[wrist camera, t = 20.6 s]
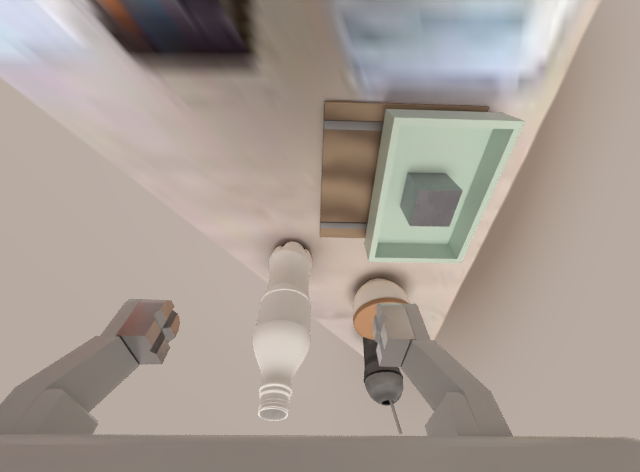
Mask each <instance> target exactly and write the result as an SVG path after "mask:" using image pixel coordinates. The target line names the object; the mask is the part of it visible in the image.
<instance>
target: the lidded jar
mask: <svg viewBox="0 0 640 472" xmlns="http://www.w3.org/2000/svg"><path fill="white" fill-rule="evenodd" d="M378 303H402V304H411V302H410V300H409V298H408V296H407V295H406V293H405V292H404V290H403V289H402V288H401V287H400V286H398V285H397V284H395V283H394V282H391V281H388V280H386V279H383V278H375V279H371V280H369V281H367V282H366V283H365V284H364V285H363V286H362V287H361V288H360V289H359V290H358V291H357V293H356V295H355V298H354V302H353V324H354V328H355V330H356V331H357V332H358V333H359V334H360V335H361V336H363V337H365V338H368V339H372V340H374V336H373V318H374V316H375V315H376V306H377V304H378Z"/></svg>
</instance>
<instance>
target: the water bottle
mask: <svg viewBox="0 0 640 472" xmlns="http://www.w3.org/2000/svg"><path fill="white" fill-rule="evenodd" d="M311 271H312V258H311V255H310V253H309V251H308V250H307V249H303V247H302V246H301V245H300V244H299V243H297V242H292V241H291V242H288V243H286V244H285V245H284V246H283V247H282V246H278V247H277V248H276V249H275V250H274V251H273V253H272V255H271V257H270V260H269V285H268V289H267V291H266V292H265V293H264V295H263V297H262V299H261V305H260V310H259V315H258V320H257V324H256V328H255V331H254V333H253V349H254V353H255V356H256V360H257V362H258V365H259V368H260V371H261V375H262V385H261V386H260V387H259V393H260V395H259V398H260V403H259V409H258V411H259V412H258V415H259V417H261V418H263V419H266V420H273V421H275V420H282V419H285V418H286V417H287V415H288V409H289V407H288V406H289V401H290V398H291V394H292V391H293V390H292V388H291V383H292V380H293V377H294V375H295V373H296V371H297V370H298V368H299V367H300V365H301V363H302V362H303V360H304V358H305V356H306V354H307V352H308V349H309V346H310V340H311V336H310V310H311V303H310V299H309V291H308V284H309V276H310V273H311Z"/></svg>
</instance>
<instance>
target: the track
mask: <svg viewBox="0 0 640 472" xmlns="http://www.w3.org/2000/svg"><path fill="white" fill-rule="evenodd" d="M386 109H405V110H438V111H471V112H488V110H489V107H487V106H468V105H435V104H403V103H371V102H338V101H325V108H324V136H323V164H322V192H321V220H320V237H343V238H365V236H366V230H367V224H368V218H369V211H370V205H371V199H372V192H373V186H374V180H375V174H376V167H377V161H378V155H379V149H380V142H381V136H382V130H383V124H384V117H385V111H386Z"/></svg>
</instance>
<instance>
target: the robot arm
mask: <svg viewBox="0 0 640 472" xmlns="http://www.w3.org/2000/svg"><path fill="white" fill-rule="evenodd" d="M173 308H174V305H173V303H172V301H169V300H146V299H129V300H128V301H126V302H125V303H124V305H123V306H122V307H121V309H120V310H119V311H118V313H117V314H116V315H115V317H114V318H113V319H112V321H111V322H110V323H109V325H108V326H107V327H106V329H105V330H104V331H103V333H102V334H101V335H100V336H95V337H94V338H92V339H90V340H89V341H87V342H86V343H84V344H83V345H81V346H79V347H78V348H76V349H75V350H73V351H72V352H70V353H69V354H67V355H65V356H64V357H62V358H61V359H59V360H58V361H56V362H54V363H53V364H51V365H50V366H48V367H46V368H45V369H43V370H42V371H40V372H39V373H37V374H35V375H34V376H32V377H31V378H29V379H28V380H26V381H25V382H23V383H21V384H20V385H18V386H17V387H15V388H14V389H13V391H12V392H11V393H10V394H9V395H8V396H7V397H6V399H5V400H4V401H3V402H2V403H1V404H0V472H640V440H638V439H635V438H627V437H513V435H512V433H511V431H510V429H509V427H508V425H507V423H506V421H505V419H504V417H503V415H502V413H501V411H500V409H499V407H498V405H497V403H496V401H495V399H494V397H493V395H492V393H491V391H490V390H488V389H487V388H486V387H485V386H484V385H483V384H482V383H481V382H480V381H479V380H478V379H476V378H475V377H474V376H473V375H472V374H471V373H470V372H469V371H468V370H467V369H465V368H464V367H463V366H462V365H461V364H460V363H459V362H458V361H457V360H455V359H454V358H453V357H452V356H451V355H450V354H449V353H448V352H447V351H446V350H445V349H443V348H442V347H441V346H440V345H439V344H438V343H437V342H436V341H435V340H430V337H429V335H428V332H427V329H426V327H425V324H424V322H423V319H422V317H421V314H420V311H419V309H418V306H417V305H416V304H402V303H378V304H377V306H376V315H375V316H374V318H373V336H374V340H375V341H376V342H377V343H378V345H377V349H376V352H377V357H378V362H379V366H384V367H401V369H402V370H403V372H404V373H405V374H406V375H407V377H408V378H409V379H410V380H411V382H412V383H413V384H414V386H415V387H416V388H417V390H418V391H419V392H420V393H421V395H422V396H423V397H424V399H425V400H426V401H427V402H428V404H429V405H430V406H431V408H432V409H433V410H434V413H433V414H432V416H431V417H430V419H429V421H428V422H427V424H426V425H425V428H426V431H427V435H428V436H305V435H304V436H302V435H301V436H300V435H298V436H297V435H296V436H295V435H293V436H292V435H92V434H93V432H94V431H95V429H96V427H97V425H98V422H97V420H96V419H95V418H94V417H93V416H92V415H90V414H89V412H90V411H91V410H92V409H93V408H94V407H95V406H96V405H97V404H98V403H100V401H102V400H103V399H104V398H105V397H106V396H107V395H108V394H109V393H110V392H111V391H112V390H113V389H115V388H116V387H117V386H118V385H119V384H120V383H121V382H122V381H123V380H124V379H125V378H127V377H128V376H129V375H130V374H131V373H132V372H133V371H134V370H135V369H136V368H137V367H138V366H139V364H162V363H163V361H164V359H165V357H166V355H167V353H168V351H169V349H170V346H169V341H171V340H172V339H173V338H175V336H176V334H177V332H178V329H179V324H180V321H179V316H178V314H177V313H176V312H175V311H173V310H172V309H173Z"/></svg>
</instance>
